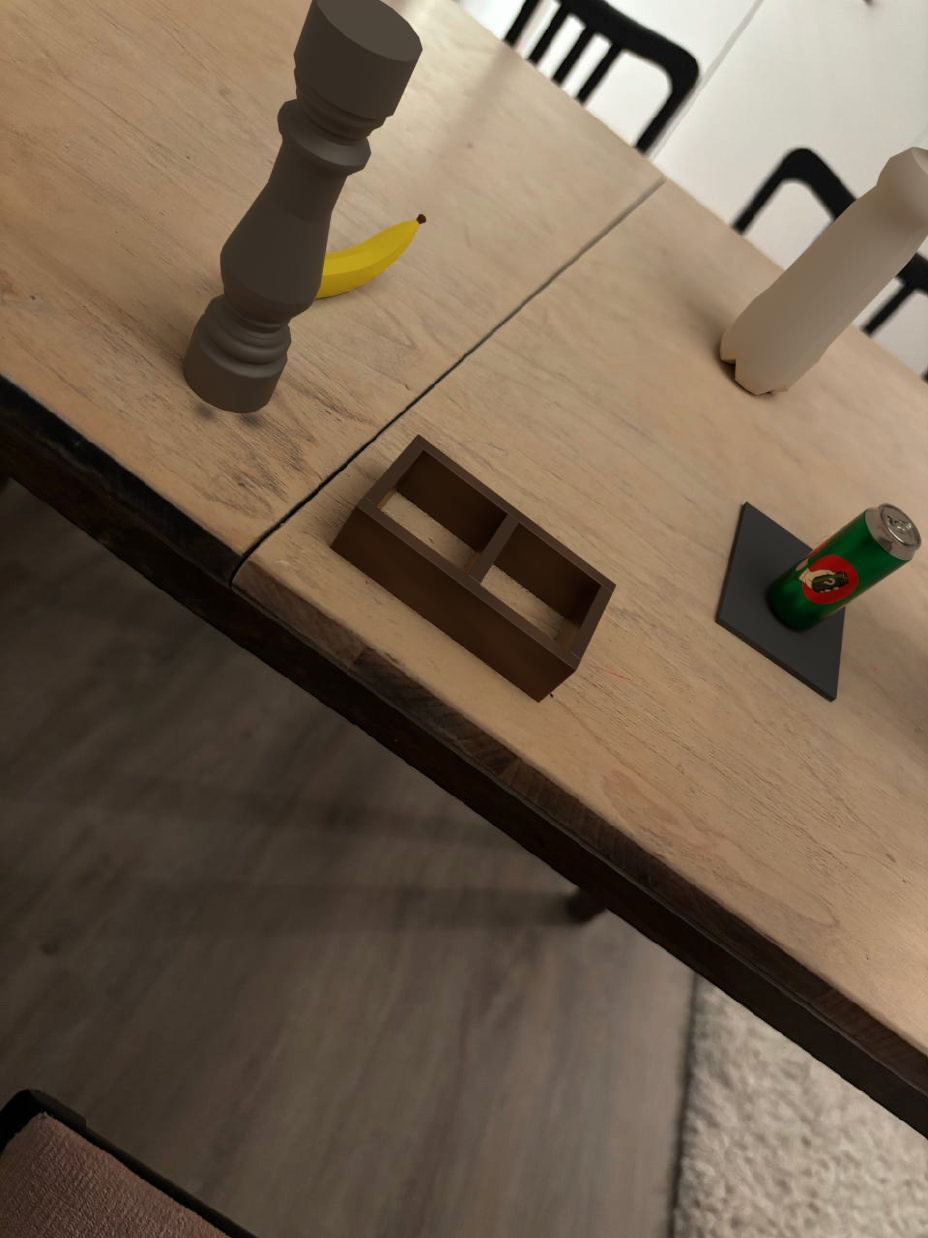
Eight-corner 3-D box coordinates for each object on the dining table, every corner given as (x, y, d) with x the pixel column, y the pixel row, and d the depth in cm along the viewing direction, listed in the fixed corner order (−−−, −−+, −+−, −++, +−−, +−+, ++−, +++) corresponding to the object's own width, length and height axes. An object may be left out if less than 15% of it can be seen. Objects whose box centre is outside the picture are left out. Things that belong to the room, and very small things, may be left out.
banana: (194, 298, 67) (218, 225, 62) (382, 264, 80) (414, 201, 75) (218, 328, 66) (244, 257, 62) (403, 289, 79) (436, 227, 74)
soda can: (813, 643, 79) (931, 563, 70) (766, 620, 78) (880, 536, 69) (807, 596, 82) (919, 515, 73) (761, 574, 81) (870, 488, 72)
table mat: (831, 702, 77) (836, 699, 77) (714, 621, 75) (719, 617, 75) (844, 578, 88) (848, 574, 87) (742, 504, 86) (746, 500, 86)
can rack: (581, 618, 68) (617, 584, 65) (539, 703, 62) (576, 670, 59) (391, 474, 67) (418, 433, 64) (329, 547, 61) (355, 505, 58)
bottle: (794, 402, 101) (1049, 161, 80) (743, 404, 96) (1001, 146, 74) (750, 339, 104) (984, 89, 83) (698, 337, 99) (933, 69, 77)
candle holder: (236, 335, 67) (373, -19, 49) (290, 399, 66) (450, 63, 48) (163, 354, 63) (283, -25, 44) (220, 423, 62) (365, 65, 44)
